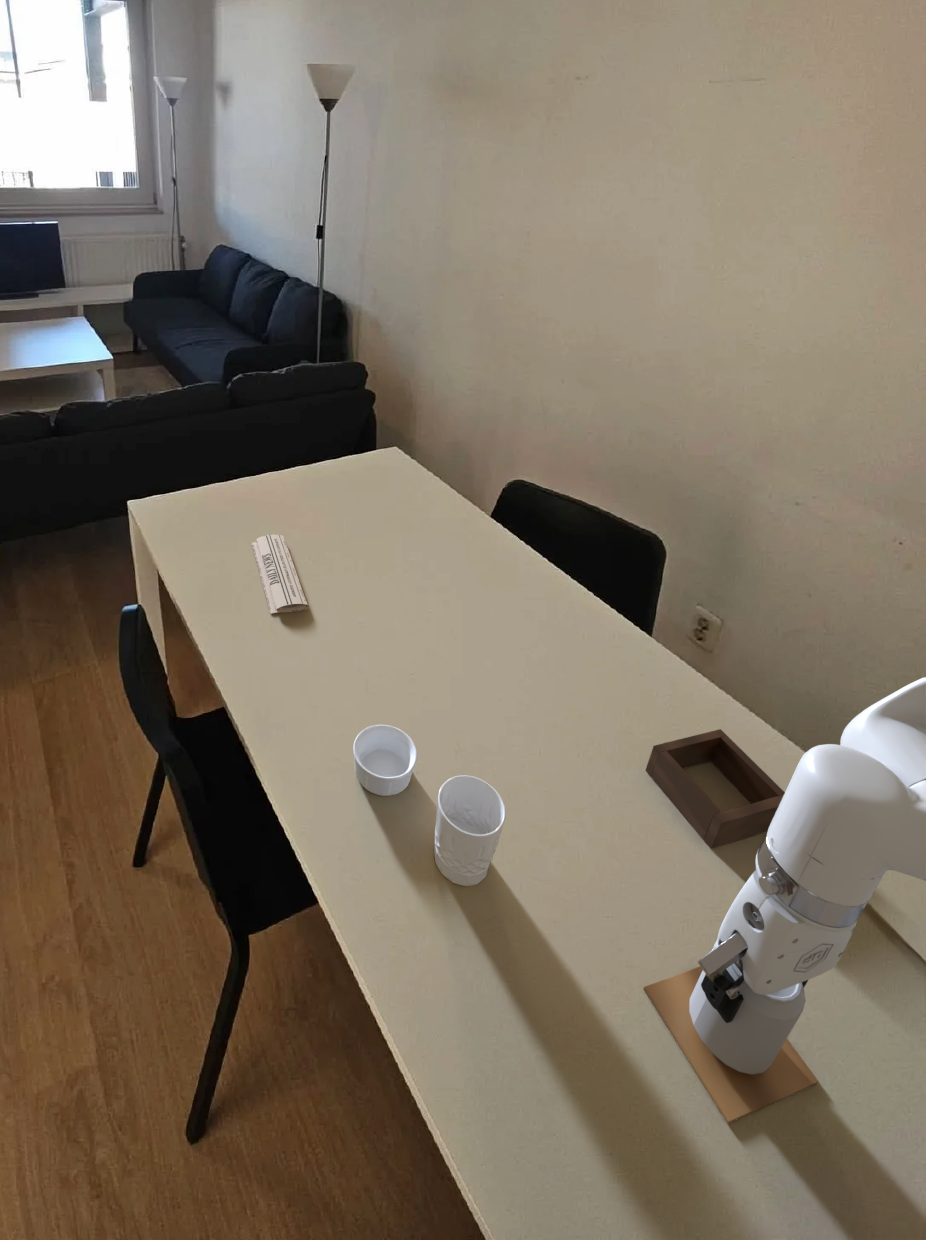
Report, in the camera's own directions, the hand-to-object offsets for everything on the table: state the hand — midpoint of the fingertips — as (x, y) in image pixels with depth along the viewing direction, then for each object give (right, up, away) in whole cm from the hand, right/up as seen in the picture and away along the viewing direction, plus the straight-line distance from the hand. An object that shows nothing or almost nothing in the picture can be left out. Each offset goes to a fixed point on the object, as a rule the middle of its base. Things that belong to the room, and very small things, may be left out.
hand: (749, 990), depth 65 cm
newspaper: (-50, +24, +71) cm, 90 cm away
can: (0, -7, +3) cm, 8 cm away
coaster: (0, -7, +3) cm, 8 cm away
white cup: (-24, 0, +19) cm, 30 cm away
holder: (+13, +3, +28) cm, 31 cm away
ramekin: (-33, +6, +29) cm, 44 cm away
